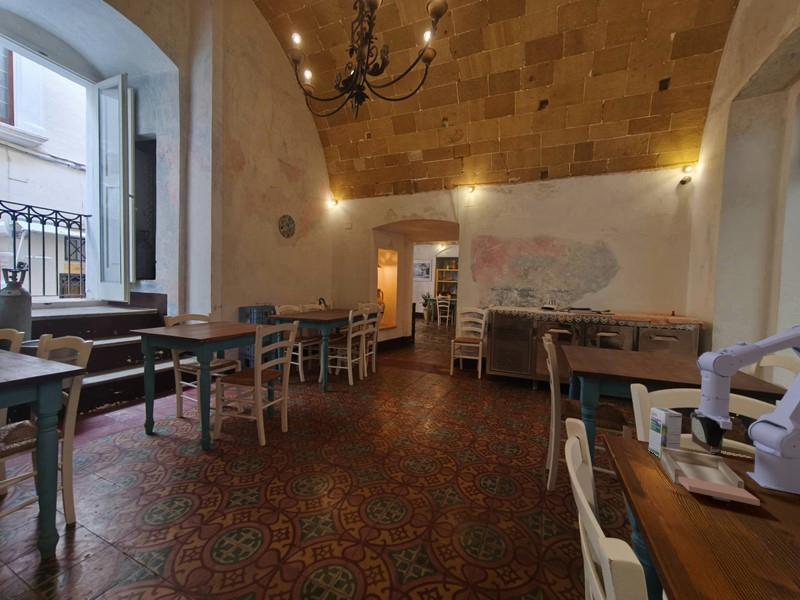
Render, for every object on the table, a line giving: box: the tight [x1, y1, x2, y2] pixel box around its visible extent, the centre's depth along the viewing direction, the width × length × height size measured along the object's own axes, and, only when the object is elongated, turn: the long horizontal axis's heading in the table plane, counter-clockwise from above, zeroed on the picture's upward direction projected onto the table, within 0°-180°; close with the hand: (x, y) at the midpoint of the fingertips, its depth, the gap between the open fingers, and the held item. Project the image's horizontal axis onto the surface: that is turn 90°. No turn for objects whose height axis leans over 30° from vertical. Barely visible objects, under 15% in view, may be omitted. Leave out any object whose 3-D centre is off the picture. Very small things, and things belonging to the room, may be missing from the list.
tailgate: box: [678, 476, 761, 506], centre depth 83 cm, size 13×2×7 cm
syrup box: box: [648, 406, 683, 459], centre depth 106 cm, size 6×6×14 cm
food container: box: [690, 411, 725, 455], centre depth 112 cm, size 12×6×10 cm, turn 168°
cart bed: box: [660, 447, 745, 490], centre depth 93 cm, size 14×12×5 cm
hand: (712, 445), depth 93 cm, fingers closed
